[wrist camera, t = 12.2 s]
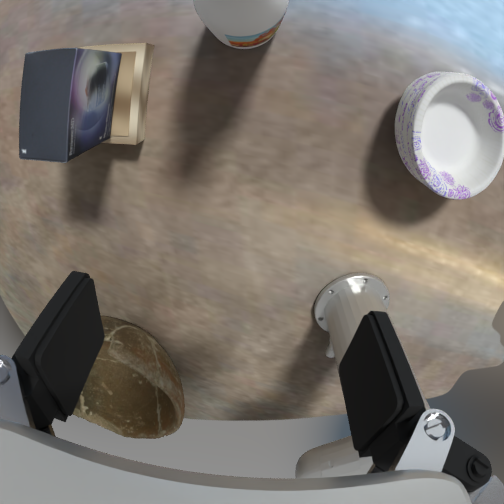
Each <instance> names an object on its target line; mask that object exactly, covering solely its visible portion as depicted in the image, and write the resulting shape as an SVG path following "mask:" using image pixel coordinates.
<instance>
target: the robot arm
mask: <svg viewBox="0 0 504 504" xmlns="http://www.w3.org/2000/svg"><path fill="white" fill-rule="evenodd" d="M389 300H390V298H389V292H388V289H387V287H386V285H385V284H384V282H383V281H382V280H381V279H379V278H378V277H376V276H374V275H371V274H367V273H354V274H348V275H345V276H342V277H340V278H338V279H336V280H334V281H333V282H331V283H330V284H328V285H327V286H326V287H325V288H324V289H323V290H322V291H321V293H320V294H319V295H318V298H317V300H316V302H315V306H314V313H315V318H316V321H317V323H318V324H319V326H320V327H321V328H322V329H324V330H325V331H327V332H329V334H330V339H329V341H330V344H329V345H328V347H327V349H326V351H325V355H326V356H327V357H329V358H333V357H335V360H336V364H337V369H338V373H339V377H340V382H341V386H342V391H343V395H344V400H345V405H346V410H347V415H348V419H349V424H350V430H351V436H348V437H346V438H343V439H340V440H337V441H334V442H331V443H328V444H324V445H321V446H318V447H316V448H313V449H311V450H309V451H307V452H305V453H304V454H303V455H302V456H301V457H300V458H299V460H298V462H297V465H296V472H295V476H296V479H271V478H270V479H269V478H247V477H233V476H221V475H212V474H204V473H197V472H189V471H183V470H177V469H171V468H166V467H160V466H156V465H151V464H146V463H142V462H137V461H133V460H129V459H125V458H121V457H117V456H114V455H110V454H107V453H103V452H100V451H96V450H93V449H90V448H87V447H84V446H81V445H78V444H75V443H72V442H69V441H66V440H63V439H60V438H58V437H56V436H55V434H54V431H53V428H52V426H51V424H52V421H53V419H54V418H56V419H58V420H61V421H64V422H66V419H67V417H68V415H69V416H71V415H72V414H73V412H74V410H75V407H76V405H77V402H78V400H79V397H80V395H81V392H82V390H83V388H84V385H85V383H86V381H87V378H88V376H89V374H90V371H91V369H92V367H93V364H94V362H95V360H96V358H97V356H98V353H99V351H100V349H101V347H102V345H103V342H104V337H105V334H104V329H103V325H102V320H101V316H100V311H99V306H98V301H97V296H96V291H95V285H94V281H93V279H91V278H90V276H89V274H87V273H82V272H77V271H72V272H71V273H70V275H69V276H68V277H67V278H66V280H65V281H64V282H63V284H62V285H61V286H60V288H59V289H58V290H57V292H56V293H55V294H54V296H53V297H52V299H51V300H50V301H49V303H48V304H47V305H46V307H45V308H44V310H43V311H42V313H41V314H40V315H39V317H38V318H37V320H36V321H35V323H34V324H33V326H32V327H31V329H30V330H29V332H28V333H27V335H26V336H25V338H24V339H23V341H22V342H21V344H20V346H19V347H18V349H17V350H16V352H15V354H14V355H13V357H12V359H11V358H10V357H8V356H6V355H0V504H504V485H503V484H502V482H501V481H500V480H499V479H498V478H497V477H496V475H494V476H491V473H492V471H491V470H492V469H491V464H490V461H489V460H488V458H487V457H486V456H485V455H484V454H482V453H481V452H479V451H477V450H476V449H474V448H473V447H471V446H469V445H468V444H466V443H465V442H463V441H462V440H460V439H459V438H457V437H455V436H454V432H455V428H454V424H453V421H452V419H451V418H450V417H449V416H448V414H446V413H445V412H443V411H441V410H439V409H430V407H429V405H428V403H427V401H426V399H425V397H424V395H423V393H422V390H421V388H420V386H419V384H418V381H417V379H416V377H415V374H414V372H413V369H412V367H411V364H410V362H409V360H408V357H407V355H406V352H405V350H404V348H403V345H402V343H401V341H400V338H399V336H398V334H397V332H396V329H395V327H394V325H393V323H392V320H391V318H390V316H389V314H388V312H387V308H388V305H389Z"/></svg>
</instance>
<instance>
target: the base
mask: <svg viewBox="0 0 504 504" xmlns="http://www.w3.org/2000/svg"><path fill="white" fill-rule="evenodd" d="M79 48H81V49H92V50H101V51H109V52H116V53H122V56H121V61H120V67H119V73H118V78H117V85H116V92H115V99H114V106H113V115H112V125H111V135H110V139H108V140H106V141H104V142H102V143H115V144H133V145H136V144H138V143H140V142H141V141H143V140H144V138H145V123H146V110H147V99H148V90H149V80H150V72H151V64H152V57H153V50H154V45H151V44H148V43H129V44H111V45H98V46H88V47H79Z"/></svg>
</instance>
